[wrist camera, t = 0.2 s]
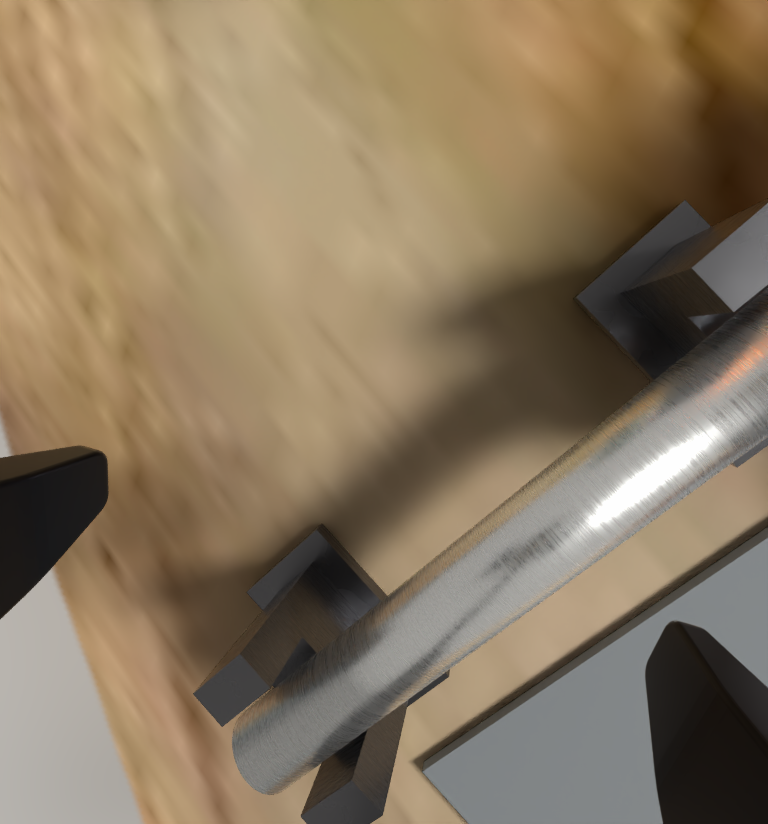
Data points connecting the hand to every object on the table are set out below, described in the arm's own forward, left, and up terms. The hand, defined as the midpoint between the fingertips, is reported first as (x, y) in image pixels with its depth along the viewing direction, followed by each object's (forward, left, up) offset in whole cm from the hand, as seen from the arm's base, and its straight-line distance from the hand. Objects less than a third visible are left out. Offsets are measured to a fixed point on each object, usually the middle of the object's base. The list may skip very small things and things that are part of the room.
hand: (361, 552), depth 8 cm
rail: (0, -4, -9) cm, 10 cm away
